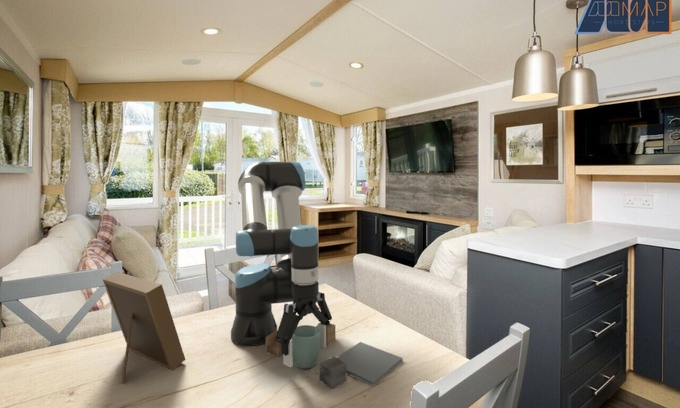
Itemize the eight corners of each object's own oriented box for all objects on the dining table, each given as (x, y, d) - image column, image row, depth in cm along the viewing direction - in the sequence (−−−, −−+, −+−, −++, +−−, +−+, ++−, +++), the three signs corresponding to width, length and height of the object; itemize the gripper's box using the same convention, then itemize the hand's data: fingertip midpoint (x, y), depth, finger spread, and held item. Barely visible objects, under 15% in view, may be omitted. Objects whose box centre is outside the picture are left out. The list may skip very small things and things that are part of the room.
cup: (315, 374, 94) (315, 338, 93) (287, 370, 96) (287, 336, 95) (322, 358, 102) (322, 326, 101) (297, 356, 103) (296, 323, 102)
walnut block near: (265, 352, 105) (265, 337, 105) (276, 345, 110) (276, 330, 109) (278, 357, 103) (278, 341, 102) (289, 349, 107) (289, 334, 107)
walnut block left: (314, 342, 112) (314, 327, 111) (322, 336, 116) (322, 321, 116) (327, 346, 109) (327, 331, 109) (335, 339, 114) (335, 324, 113)
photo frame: (142, 343, 110) (137, 267, 108) (185, 363, 99) (180, 278, 97) (89, 366, 98) (82, 280, 95) (132, 391, 87) (125, 295, 84)
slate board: (329, 365, 98) (329, 362, 98) (360, 344, 110) (360, 341, 110) (373, 385, 89) (373, 382, 89) (402, 361, 101) (402, 357, 100)
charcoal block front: (319, 380, 91) (319, 362, 91) (334, 373, 94) (334, 356, 94) (331, 389, 87) (331, 371, 87) (346, 382, 91) (346, 363, 90)
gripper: (279, 296, 84) (281, 379, 86) (343, 273, 104) (343, 342, 105) (260, 290, 89) (262, 369, 91) (324, 269, 108) (325, 335, 110)
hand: (305, 355), depth 98 cm, fingers open, 13 cm apart
